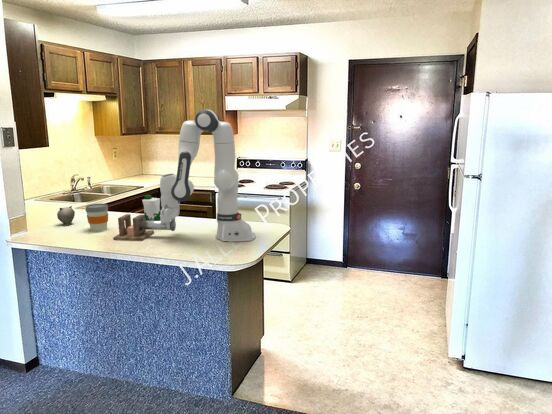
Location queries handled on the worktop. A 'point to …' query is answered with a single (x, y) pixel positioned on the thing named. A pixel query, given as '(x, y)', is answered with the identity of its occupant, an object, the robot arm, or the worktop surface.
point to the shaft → (156, 225)
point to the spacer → (130, 231)
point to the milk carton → (151, 208)
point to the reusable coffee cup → (97, 216)
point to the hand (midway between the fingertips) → (170, 227)
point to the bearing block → (138, 233)
